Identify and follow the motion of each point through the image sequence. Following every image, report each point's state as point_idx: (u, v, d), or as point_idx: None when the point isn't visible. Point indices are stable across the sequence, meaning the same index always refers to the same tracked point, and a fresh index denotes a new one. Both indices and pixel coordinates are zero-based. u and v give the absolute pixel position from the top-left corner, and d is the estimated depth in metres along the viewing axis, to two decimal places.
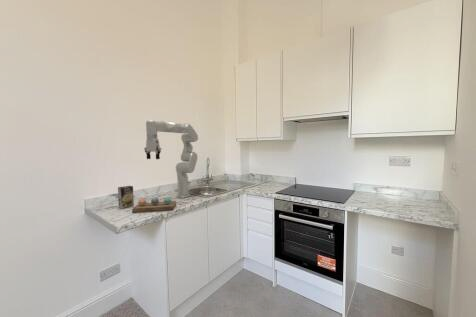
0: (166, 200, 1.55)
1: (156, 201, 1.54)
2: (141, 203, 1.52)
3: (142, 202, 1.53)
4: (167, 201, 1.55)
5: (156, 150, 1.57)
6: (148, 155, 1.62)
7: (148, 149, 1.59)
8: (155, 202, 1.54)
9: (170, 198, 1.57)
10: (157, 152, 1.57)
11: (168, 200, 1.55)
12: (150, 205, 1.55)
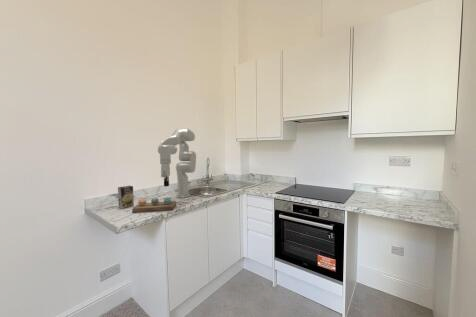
0: (166, 200, 1.55)
1: (156, 201, 1.54)
2: (141, 203, 1.52)
3: (142, 202, 1.53)
4: (167, 201, 1.55)
5: (167, 176, 1.59)
6: None
7: (168, 174, 1.54)
8: (155, 202, 1.54)
9: (170, 198, 1.57)
10: None
11: (168, 200, 1.55)
12: (150, 205, 1.55)
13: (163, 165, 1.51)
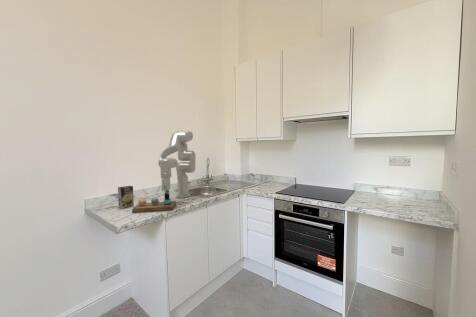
0: (166, 201, 1.55)
1: (156, 201, 1.54)
2: (141, 203, 1.52)
3: (142, 202, 1.53)
4: (167, 202, 1.55)
5: None
6: None
7: (169, 188, 1.55)
8: (155, 202, 1.54)
9: (170, 199, 1.57)
10: None
11: (168, 201, 1.56)
12: (150, 205, 1.55)
13: (164, 179, 1.51)
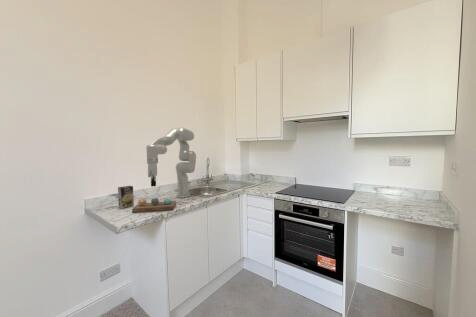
0: (166, 202, 1.55)
1: (156, 201, 1.54)
2: (141, 203, 1.52)
3: (142, 202, 1.53)
4: (167, 203, 1.55)
5: (154, 176, 1.57)
6: None
7: (155, 174, 1.53)
8: (155, 202, 1.54)
9: (170, 199, 1.57)
10: None
11: (168, 202, 1.56)
12: (150, 205, 1.55)
13: (150, 165, 1.49)
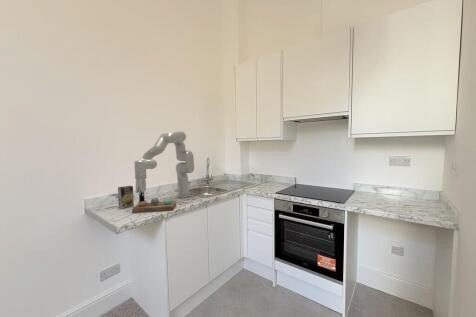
0: (166, 202, 1.55)
1: (156, 201, 1.54)
2: (141, 204, 1.53)
3: (142, 203, 1.53)
4: (167, 203, 1.55)
5: (143, 191, 1.56)
6: None
7: (143, 190, 1.52)
8: (155, 202, 1.54)
9: (170, 199, 1.57)
10: (143, 193, 1.56)
11: (168, 202, 1.56)
12: (150, 205, 1.55)
13: (138, 181, 1.49)
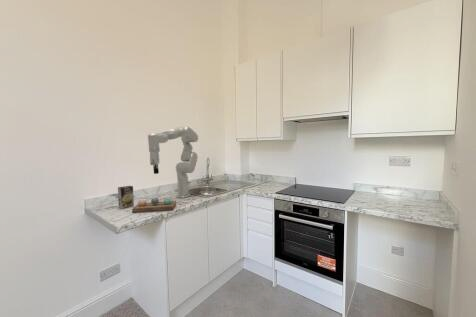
0: (166, 202, 1.55)
1: (156, 201, 1.54)
2: (141, 205, 1.53)
3: (142, 204, 1.53)
4: (167, 203, 1.55)
5: (157, 164, 1.63)
6: None
7: (157, 162, 1.59)
8: (155, 202, 1.54)
9: (170, 199, 1.57)
10: (157, 166, 1.62)
11: (168, 202, 1.56)
12: (150, 205, 1.55)
13: (152, 153, 1.55)
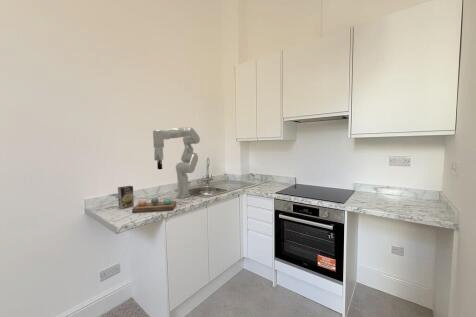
0: (166, 202, 1.55)
1: (156, 201, 1.54)
2: (141, 205, 1.53)
3: (142, 204, 1.53)
4: (167, 203, 1.55)
5: None
6: None
7: (161, 158, 1.60)
8: (155, 202, 1.54)
9: (170, 199, 1.57)
10: None
11: (168, 202, 1.56)
12: (150, 205, 1.55)
13: (156, 148, 1.57)
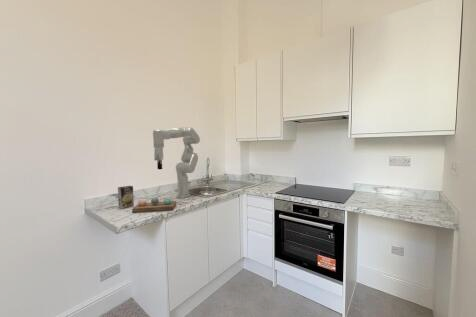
0: (166, 202, 1.55)
1: (156, 201, 1.54)
2: (141, 205, 1.53)
3: (142, 204, 1.53)
4: (167, 203, 1.55)
5: None
6: None
7: (161, 158, 1.60)
8: (155, 202, 1.54)
9: (170, 199, 1.57)
10: None
11: (168, 202, 1.56)
12: (150, 205, 1.55)
13: (156, 148, 1.57)
